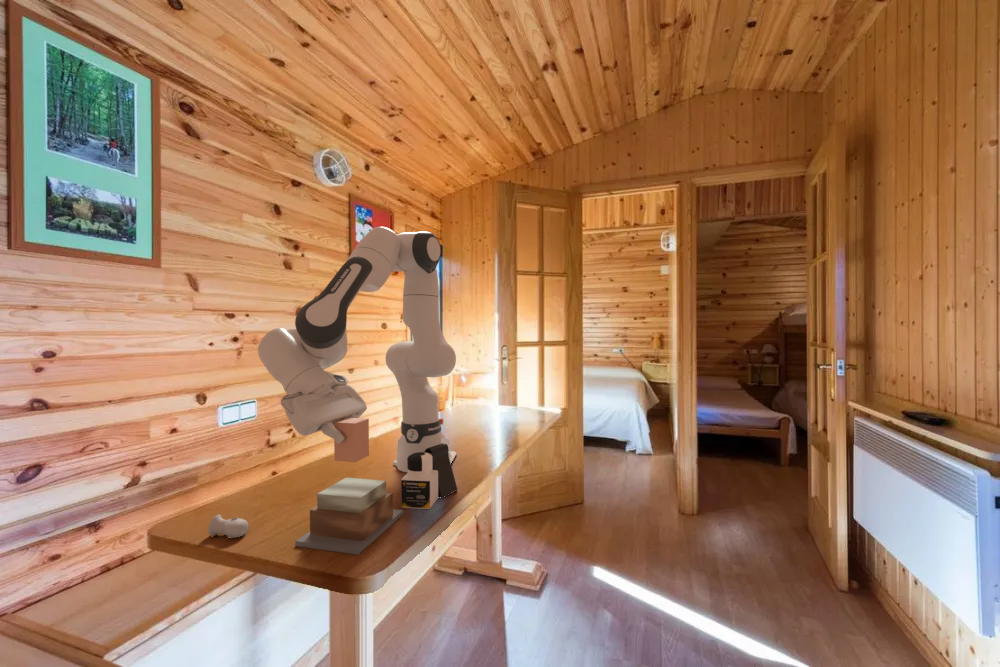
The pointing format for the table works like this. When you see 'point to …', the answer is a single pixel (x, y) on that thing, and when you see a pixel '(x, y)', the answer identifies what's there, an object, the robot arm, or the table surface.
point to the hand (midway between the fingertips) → (352, 437)
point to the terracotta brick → (352, 440)
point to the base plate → (345, 544)
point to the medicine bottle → (419, 482)
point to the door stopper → (442, 469)
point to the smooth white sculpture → (228, 526)
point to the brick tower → (351, 509)
